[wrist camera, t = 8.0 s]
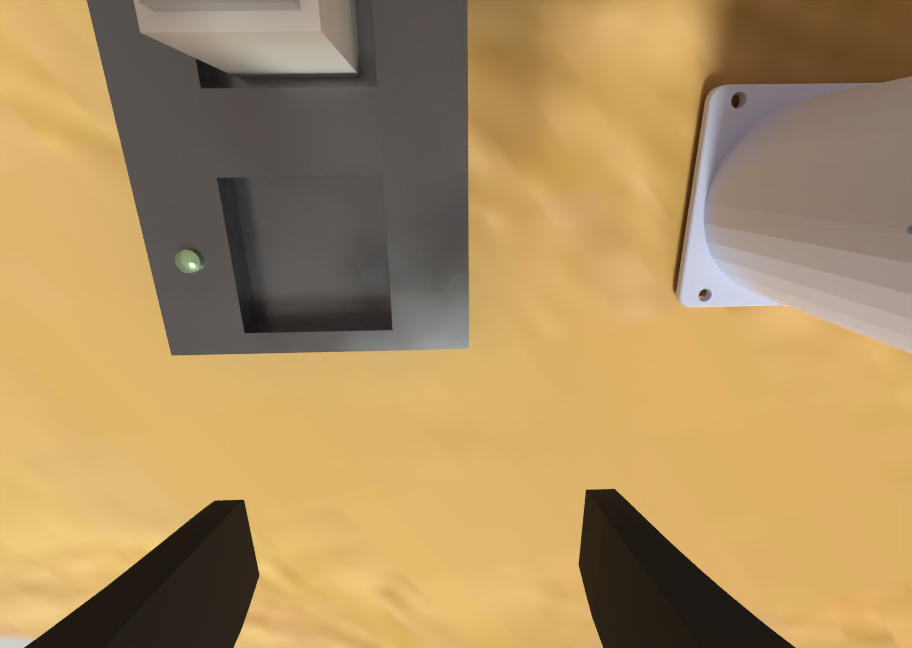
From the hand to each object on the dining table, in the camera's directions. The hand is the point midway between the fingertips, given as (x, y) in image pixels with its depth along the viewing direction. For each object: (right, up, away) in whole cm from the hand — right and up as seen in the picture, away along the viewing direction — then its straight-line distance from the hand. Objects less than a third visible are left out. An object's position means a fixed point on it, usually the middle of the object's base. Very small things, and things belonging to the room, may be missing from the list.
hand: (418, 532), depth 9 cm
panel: (-4, +11, +7) cm, 14 cm away
